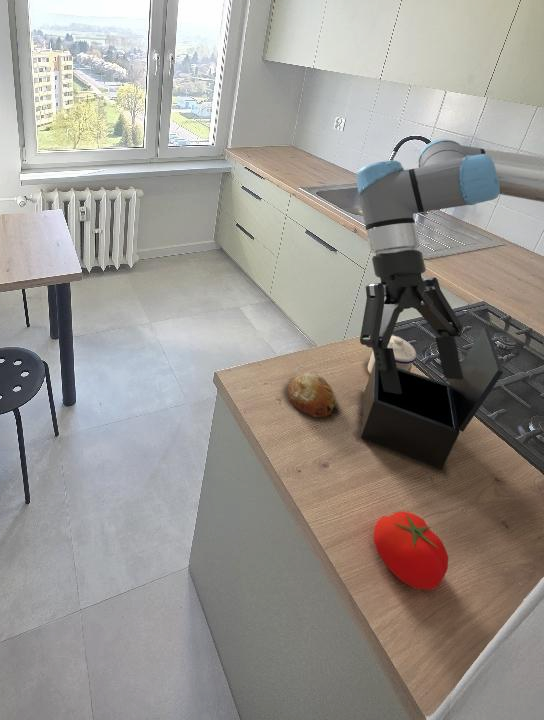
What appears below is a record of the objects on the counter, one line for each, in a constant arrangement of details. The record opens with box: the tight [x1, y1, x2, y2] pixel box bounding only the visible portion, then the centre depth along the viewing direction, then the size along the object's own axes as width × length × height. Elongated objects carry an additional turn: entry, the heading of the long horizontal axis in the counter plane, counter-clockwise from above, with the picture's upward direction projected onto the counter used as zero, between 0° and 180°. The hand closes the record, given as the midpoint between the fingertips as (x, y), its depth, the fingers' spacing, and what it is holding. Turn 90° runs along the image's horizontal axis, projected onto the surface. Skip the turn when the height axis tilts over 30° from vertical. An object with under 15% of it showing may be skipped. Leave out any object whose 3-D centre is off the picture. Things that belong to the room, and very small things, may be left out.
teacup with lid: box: [367, 335, 417, 374], centre depth 103 cm, size 12×9×12 cm
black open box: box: [360, 362, 461, 471], centre depth 87 cm, size 15×13×11 cm
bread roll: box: [287, 372, 338, 418], centre depth 95 cm, size 10×10×8 cm
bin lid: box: [449, 326, 504, 432], centre depth 79 cm, size 16×13×1 cm
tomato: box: [373, 510, 449, 591], centre depth 66 cm, size 9×10×8 cm
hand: (424, 385), depth 66 cm, fingers open, 13 cm apart
